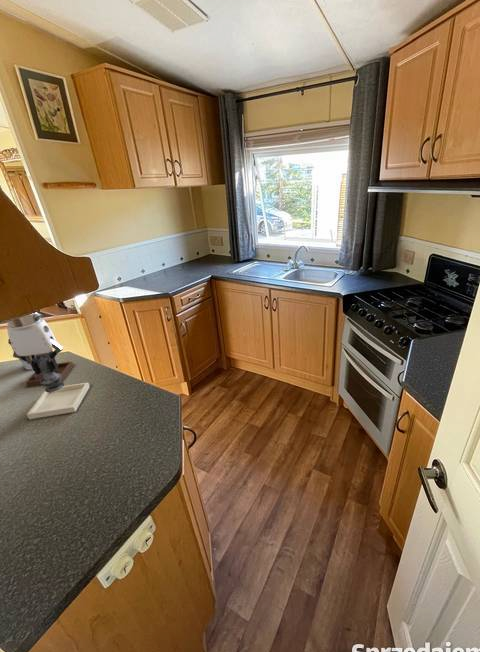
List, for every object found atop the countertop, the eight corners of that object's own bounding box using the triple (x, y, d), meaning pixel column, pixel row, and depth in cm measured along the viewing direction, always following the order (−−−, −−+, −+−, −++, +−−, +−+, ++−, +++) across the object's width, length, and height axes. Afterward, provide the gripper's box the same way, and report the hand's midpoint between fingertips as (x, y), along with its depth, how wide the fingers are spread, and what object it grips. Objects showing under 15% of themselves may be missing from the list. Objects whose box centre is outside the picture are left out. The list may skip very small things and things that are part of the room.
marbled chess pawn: (69, 384, 98) (55, 353, 92) (51, 394, 93) (36, 363, 88) (58, 380, 100) (44, 350, 95) (40, 390, 95) (24, 359, 90)
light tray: (29, 419, 92) (26, 414, 91) (49, 392, 104) (46, 388, 103) (75, 411, 94) (73, 406, 93) (89, 386, 106) (88, 382, 105)
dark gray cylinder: (41, 379, 111) (30, 357, 107) (47, 372, 116) (37, 350, 111) (55, 377, 112) (45, 355, 108) (61, 370, 116) (51, 348, 112)
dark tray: (27, 386, 108) (25, 382, 107) (42, 369, 118) (40, 365, 117) (61, 381, 110) (59, 377, 109) (73, 365, 120) (72, 361, 119)
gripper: (59, 311, 90) (79, 361, 98) (-1, 318, 87) (25, 368, 95) (48, 320, 83) (70, 373, 92) (-18, 328, 81) (11, 382, 89)
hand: (47, 370), depth 93 cm, fingers closed on marbled chess pawn, 3 cm apart
